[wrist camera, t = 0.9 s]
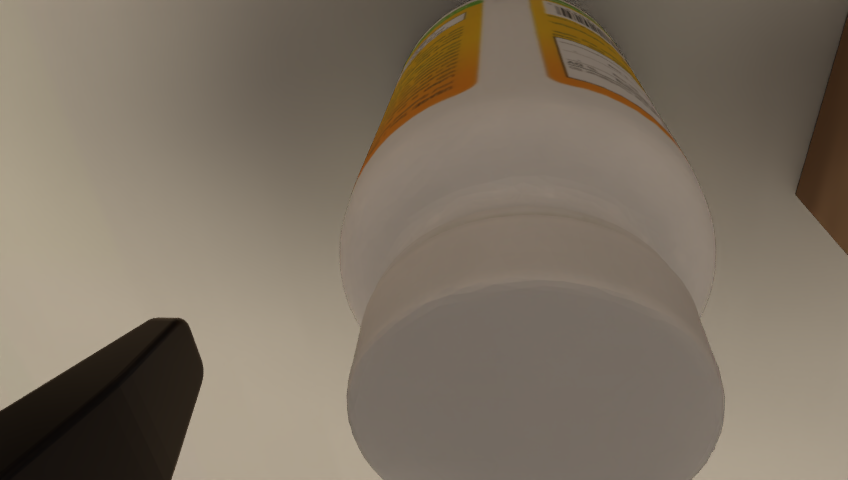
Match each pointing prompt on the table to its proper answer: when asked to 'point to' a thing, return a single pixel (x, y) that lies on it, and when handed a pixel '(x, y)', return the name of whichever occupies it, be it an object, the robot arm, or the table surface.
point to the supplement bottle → (528, 264)
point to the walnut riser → (830, 155)
